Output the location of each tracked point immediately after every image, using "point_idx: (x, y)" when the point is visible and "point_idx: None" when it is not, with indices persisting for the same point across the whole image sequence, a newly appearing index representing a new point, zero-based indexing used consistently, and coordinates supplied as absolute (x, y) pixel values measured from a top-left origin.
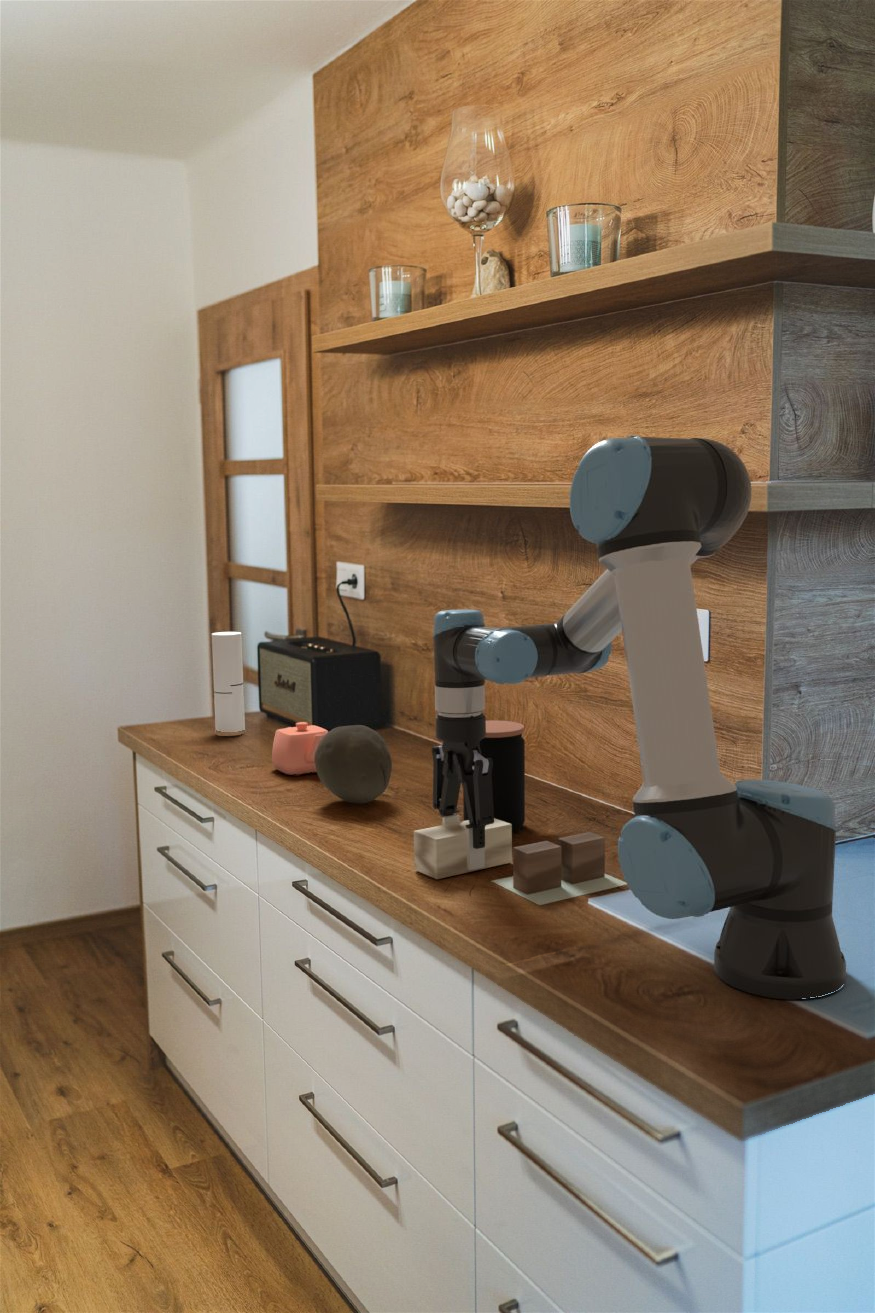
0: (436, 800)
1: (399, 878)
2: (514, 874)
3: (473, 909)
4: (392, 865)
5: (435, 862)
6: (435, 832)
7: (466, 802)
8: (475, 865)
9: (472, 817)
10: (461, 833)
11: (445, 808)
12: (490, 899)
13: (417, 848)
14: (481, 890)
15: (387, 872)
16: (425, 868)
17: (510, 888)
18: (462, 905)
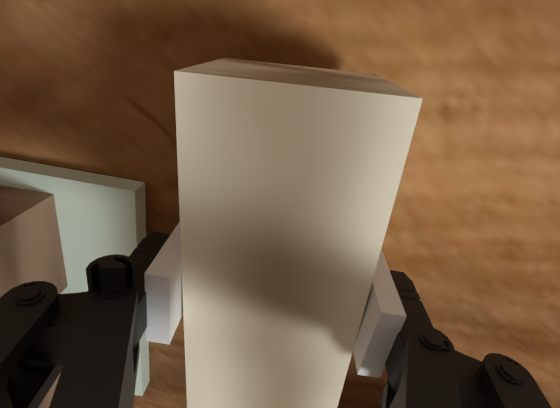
0: (507, 403)
1: (417, 32)
2: (15, 211)
3: (18, 21)
4: (536, 109)
5: (217, 62)
6: (296, 167)
7: (104, 405)
8: None
9: (82, 317)
10: (192, 242)
11: (404, 365)
12: (74, 123)
13: (365, 81)
14: (150, 156)
15: (502, 42)
16: (298, 67)
17: (52, 185)
18: (65, 18)
